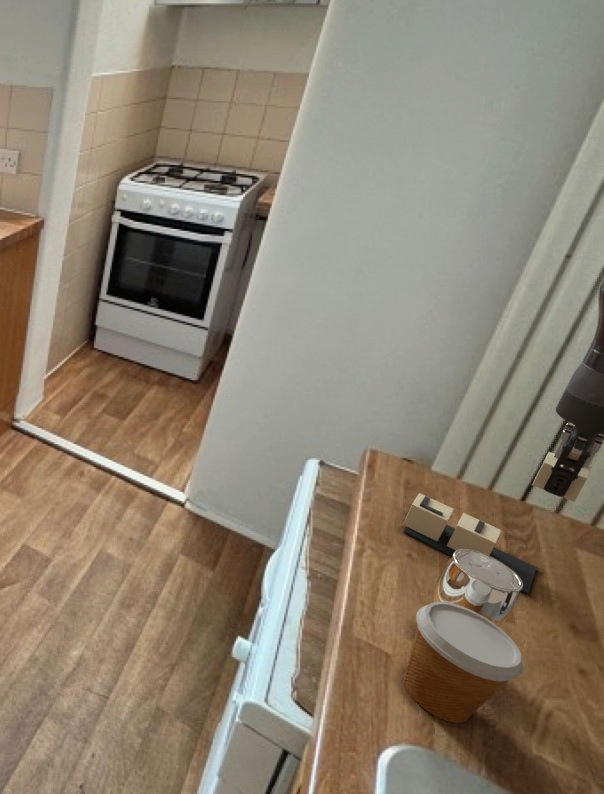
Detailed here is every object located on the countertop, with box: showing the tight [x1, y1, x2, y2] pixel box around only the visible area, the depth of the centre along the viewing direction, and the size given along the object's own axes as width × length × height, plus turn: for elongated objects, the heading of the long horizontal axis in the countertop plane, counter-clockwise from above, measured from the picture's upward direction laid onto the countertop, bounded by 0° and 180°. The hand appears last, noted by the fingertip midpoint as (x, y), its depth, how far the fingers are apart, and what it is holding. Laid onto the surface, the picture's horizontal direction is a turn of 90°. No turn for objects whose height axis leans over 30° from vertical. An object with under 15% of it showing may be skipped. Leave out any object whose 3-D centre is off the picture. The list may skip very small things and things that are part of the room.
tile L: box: [402, 493, 455, 541], centre depth 103 cm, size 5×5×5 cm
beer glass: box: [432, 549, 523, 628], centre depth 81 cm, size 7×7×15 cm
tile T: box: [531, 451, 592, 503], centre depth 96 cm, size 5×5×5 cm
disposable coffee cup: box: [403, 601, 524, 724], centre depth 75 cm, size 10×10×12 cm
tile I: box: [447, 512, 502, 556], centre depth 99 cm, size 5×5×5 cm
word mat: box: [403, 524, 538, 595], centre depth 100 cm, size 15×8×1 cm, turn 36°
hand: (556, 486), depth 96 cm, fingers closed on tile T, 4 cm apart
